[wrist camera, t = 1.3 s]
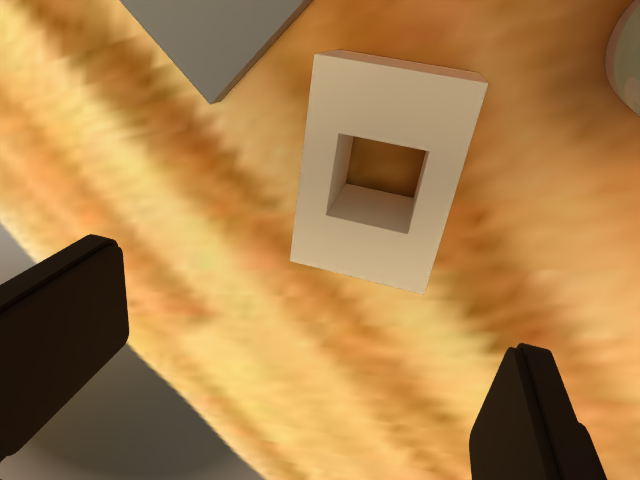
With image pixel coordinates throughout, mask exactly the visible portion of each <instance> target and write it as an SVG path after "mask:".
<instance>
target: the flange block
mask: <svg viewBox="0 0 640 480" xmlns="http://www.w3.org/2000/svg"><path fill="white" fill-rule="evenodd" d="M487 87H488V82H487V81H486V80H485V79H484V78H483V77H482V76H481V75H480V74H479V73H478V72H472V71H466V70H460V69H454V68H448V67H442V66H436V65H430V64H424V63H418V62H412V61H406V60H400V59H394V58H388V57H382V56H376V55H370V54H364V53H358V52H352V51H346V50H340V49H339V50H333V51H328V52H322V53H316V54H314V62H313V70H312V79H311V87H310V96H309V104H308V112H307V121H306V129H305V137H304V146H303V154H302V163H301V171H300V179H299V188H298V196H297V204H296V213H295V221H294V230H293V238H292V246H291V255H290V261H292V262H296V263H300V264H304V265H308V266H312V267H316V268H320V269H324V270H328V271H332V272H336V273H339V274H343V275H347V276H351V277H355V278H359V279H363V280H367V281H371V282H375V283H379V284H383V285H387V286H391V287H395V288H399V289H403V290H407V291H411V292H415V293H419V294H423V295H424V293H425V290H426V287H427V283H428V280H429V277H430V274H431V270H432V267H433V264H434V260H435V257H436V254H437V251H438V247H439V244H440V241H441V238H442V234H443V231H444V228H445V224H446V221H447V218H448V215H449V211H450V208H451V205H452V201H453V198H454V195H455V192H456V188H457V185H458V182H459V178H460V175H461V172H462V169H463V165H464V162H465V159H466V156H467V152H468V149H469V146H470V142H471V139H472V136H473V133H474V129H475V126H476V123H477V119H478V116H479V113H480V110H481V106H482V103H483V100H484V96H485V93H486V90H487ZM354 136H355V137H360V138H365V139H370V140H375V141H380V142H385V143H390V144H395V145H401V146H406V147H411V148H416V149H421V150H426V153H425V156H424V160H423V164H422V168H421V172H420V176H419V180H418V184H417V188H416V191H415V195H414V198H411V197H406V196H402V195H397V194H393V193H388V192H383V191H379V190H374V189H370V188H365V187H360V186H356V185H351V184H347V183H346V179H347V173H348V167H349V161H350V156H351V150H352V144H353V138H354Z"/></svg>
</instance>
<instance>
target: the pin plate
mask: <svg viewBox="0 0 640 480" xmlns="http://www.w3.org/2000/svg"><path fill="white" fill-rule="evenodd" d="M120 1H121V3H122V4H123V5H124V6H125V7H126V8H127V9H128V11H129V12H130V13H131V14H132V15H133V16H134V18H135V19H136V20H137V21H138V22H139V23H140V24H141V26H142V27H143V28H144V29H145V30H146V31H147V32H148V34H149V35H150V36H151V37H152V38H153V39H154V40H155V42H156V43H157V44H158V45H159V46H160V47H161V48H162V50H163V51H164V52H165V53H166V54H167V55H168V57H169V58H170V59H171V60H172V61H173V62H174V63H175V65H176V66H177V67H178V68H179V69H180V70H181V71H182V73H183V74H184V75H185V76H186V77H187V78H188V79H189V81H190V82H191V83H192V84H193V85H194V86H195V88H196V89H197V90H198V91H199V92H200V93H201V94H202V96H203V97H204V98H205V99H206V100H207V101H208V102H209V104H213V103H216V102H220V101H221V100H222V99H223V98H224V96H225V95H226V94H227V93H228V92H229V91H230V90H231V89H232V88H233V87H234V86H235V84H236V83H237V82H238V81H239V80H240V79H241V78H242V77H243V76H244V75H245V73H246V72H247V71H248V70H249V69H250V68H251V67H252V66H253V65H254V64H255V63H256V61H257V60H258V59H259V58H260V57H261V56H262V55H263V54H264V53H265V52H266V51H267V49H268V48H269V47H270V46H271V45H272V44H273V43H274V42H275V41H276V40H277V38H278V37H279V36H280V35H281V34H282V33H283V32H284V31H285V30H286V29H287V28H288V26H289V25H290V24H291V23H292V22H293V21H294V20H295V19H296V18H297V17H298V16H299V14H300V13H301V12H302V11H303V10H304V9H305V8H306V7H307V6H308V5H309V3H310V2H311V1H312V0H120Z"/></svg>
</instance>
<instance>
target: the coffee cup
mask: <svg viewBox="0 0 640 480" xmlns="http://www.w3.org/2000/svg"><path fill="white" fill-rule="evenodd" d="M605 69H606V75H607V79H608V82H609V84H610V86H611V88H612V90H613V91H614V93H615V94H616V95H617V96H618V97H619V98H620V99H621V100H622V101H623V102H624V103H625V104H626V105H627V106H628V107H629V108H631V109H632V110H633V111H634V112H635V113H636V114H637V115H639V116H640V0H634V1H633V2H632V3H631V4H630V5H629V7H628V8H627V9H626V10H625V12H624V13H623V14H622V16H621V17H620V19H619V20H618V22H617V24H616V25H615V27H614V29H613V31H612V33H611V36H610V39H609V42H608V45H607V49H606V56H605Z"/></svg>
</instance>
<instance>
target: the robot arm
mask: <svg viewBox="0 0 640 480" xmlns="http://www.w3.org/2000/svg"><path fill="white" fill-rule="evenodd" d="M128 336H129V322H128V310H127V298H126V286H125V274H124V262H123V252H122V249H121V248H120V247H118V244H117V242H116V241H115V240H113V239H110V238H106V237H102V236H98V235H93V234H90V235H87V236H85V237H84V238H82V239H80V240H78V241H77V242H75V243H73V244H71V245H70V246H68V247H66V248H64V249H63V250H61V251H59V252H57V253H56V254H54V255H52V256H50V257H49V258H47V259H45V260H43V261H42V262H40V263H38V264H36V265H35V266H33V267H31V268H29V269H28V270H26V271H24V272H23V273H21V274H19V275H17V276H15V277H14V278H12V279H10V280H8V281H7V282H5V283H3V284H1V285H0V462H1V461H2V460H3V459H4V458H5V457H6V456H10V455H13V454H14V453H16V452H17V451H19V450H20V449H21V448H22V447H23V446H24V445H25V444H26V443H27V442H28V441H29V440H30V439H31V438H32V437H33V436H34V435H35V434H36V433H37V432H38V431H39V430H40V429H41V428H42V427H43V426H44V425H45V424H46V423H47V422H48V421H49V420H50V419H51V418H52V417H53V416H54V415H55V414H56V413H57V412H58V411H59V410H60V409H61V408H62V407H63V406H64V405H65V404H66V403H67V402H68V401H69V400H70V399H71V398H72V397H73V396H74V395H75V394H76V393H77V392H78V391H79V390H80V389H81V388H82V387H83V386H84V385H85V384H86V383H87V382H88V380H90V379H91V378H92V377H93V376H94V375H95V374H96V373H97V372H98V371H99V370H100V369H101V368H102V367H103V366H104V365H105V364H106V363H107V362H108V361H109V360H110V359H111V358H112V357H113V356H114V355H115V354H116V353H117V352H118V351H119V350H120V349H121V348H122V347H123V346H124V345H125V343H126V341H127V339H128ZM469 452H470V463H471V474H472V480H607V478H606V475H605V473H604V470H603V467H602V465H601V462H600V460H599V457H598V455H597V452H596V450H595V447H594V445H593V442H592V440H591V437H590V435H589V433H588V431H587V429H586V427H585V426H584V425H582V424H581V423H579V422H578V421H577V418H576V415H575V413H574V410H573V408H572V405H571V402H570V400H569V397H568V394H567V392H566V389H565V387H564V384H563V381H562V379H561V376H560V373H559V371H558V368H557V365H556V363H555V360H554V358H553V355H552V353H551V351H550V350H548V349H544V348H540V347H536V346H532V345H528V344H524V343H520V344H519V345H518V346H517V348H513V347H509V348H508V349H507V351H506V353H505V355H504V358H503V360H502V362H501V364H500V367H499V369H498V371H497V374H496V376H495V378H494V380H493V383H492V385H491V387H490V389H489V392H488V394H487V396H486V398H485V401H484V403H483V405H482V408H481V410H480V412H479V414H478V417H477V419H476V421H475V423H474V426H473V428H472V430H471V434H470V439H469ZM0 480H2V479H0Z"/></svg>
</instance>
